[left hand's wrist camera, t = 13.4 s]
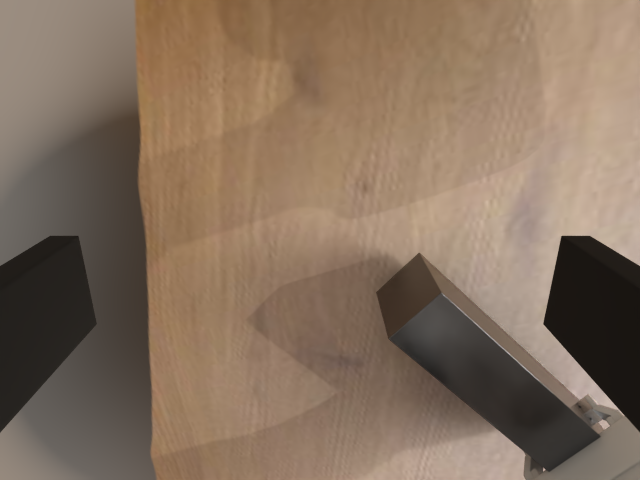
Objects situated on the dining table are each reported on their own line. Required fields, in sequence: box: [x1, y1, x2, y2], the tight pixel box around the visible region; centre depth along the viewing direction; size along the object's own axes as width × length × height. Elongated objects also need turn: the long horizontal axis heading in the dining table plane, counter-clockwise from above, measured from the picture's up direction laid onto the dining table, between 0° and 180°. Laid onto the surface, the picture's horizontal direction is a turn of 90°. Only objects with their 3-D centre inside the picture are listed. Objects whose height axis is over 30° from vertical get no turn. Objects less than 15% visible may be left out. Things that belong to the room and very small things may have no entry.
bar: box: [376, 253, 604, 472], centre depth 41 cm, size 26×6×8 cm, turn 47°
